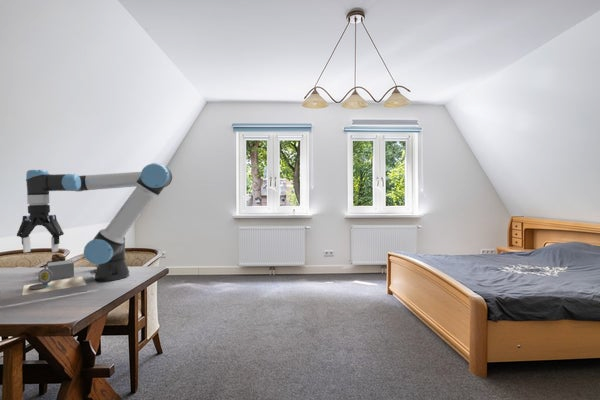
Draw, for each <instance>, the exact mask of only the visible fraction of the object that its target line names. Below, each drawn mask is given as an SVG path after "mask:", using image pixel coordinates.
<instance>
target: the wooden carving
mask: <svg viewBox="0 0 600 400" xmlns="http://www.w3.org/2000/svg"><path fill="white" fill-rule="evenodd" d="M59 261H66V256H65V255H64V254H63V253H55V254H52V256H51V260H47V262H46V267H47V266H48V265H47V264H48V263H50V262H59Z"/></svg>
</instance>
